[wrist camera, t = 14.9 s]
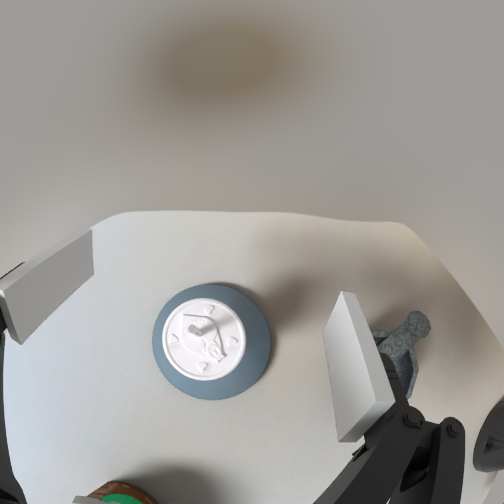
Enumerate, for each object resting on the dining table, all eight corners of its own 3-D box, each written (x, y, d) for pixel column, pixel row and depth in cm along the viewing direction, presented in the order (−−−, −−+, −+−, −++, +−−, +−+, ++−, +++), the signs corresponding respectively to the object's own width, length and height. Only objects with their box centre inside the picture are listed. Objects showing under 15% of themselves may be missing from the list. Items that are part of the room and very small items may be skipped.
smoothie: (212, 302, 30) (205, 262, 17) (251, 345, 29) (276, 340, 16) (168, 338, 28) (126, 327, 15) (207, 383, 27) (194, 410, 14)
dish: (230, 266, 33) (230, 263, 32) (290, 359, 30) (292, 359, 29) (135, 320, 29) (132, 319, 28) (193, 417, 26) (192, 419, 25)
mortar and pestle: (371, 415, 28) (431, 433, 17) (307, 401, 28) (351, 424, 17) (395, 334, 32) (457, 321, 21) (336, 314, 32) (389, 293, 21)
